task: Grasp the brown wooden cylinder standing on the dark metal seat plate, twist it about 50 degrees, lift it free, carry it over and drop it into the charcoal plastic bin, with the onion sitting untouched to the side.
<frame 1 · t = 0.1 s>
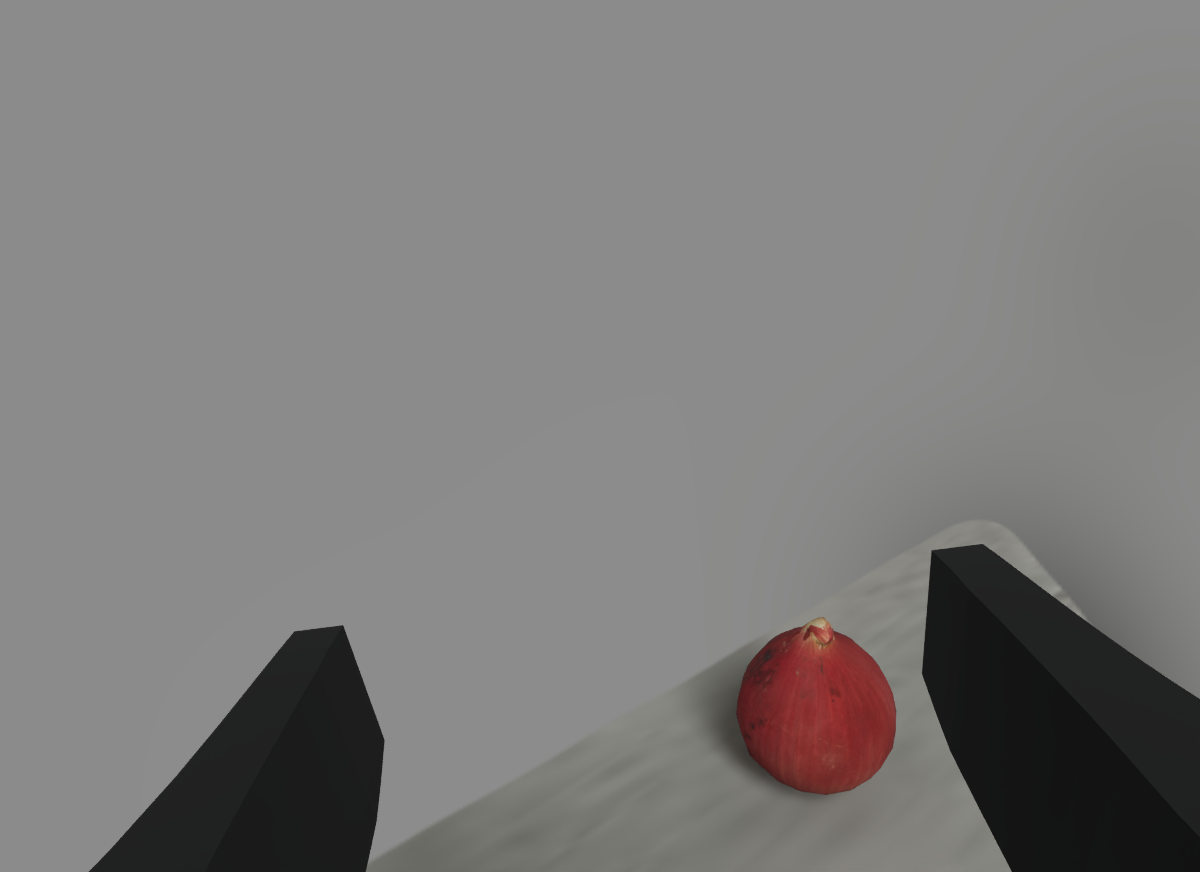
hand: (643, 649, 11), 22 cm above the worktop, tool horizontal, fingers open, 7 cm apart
onion: (816, 784, 36), on the worktop
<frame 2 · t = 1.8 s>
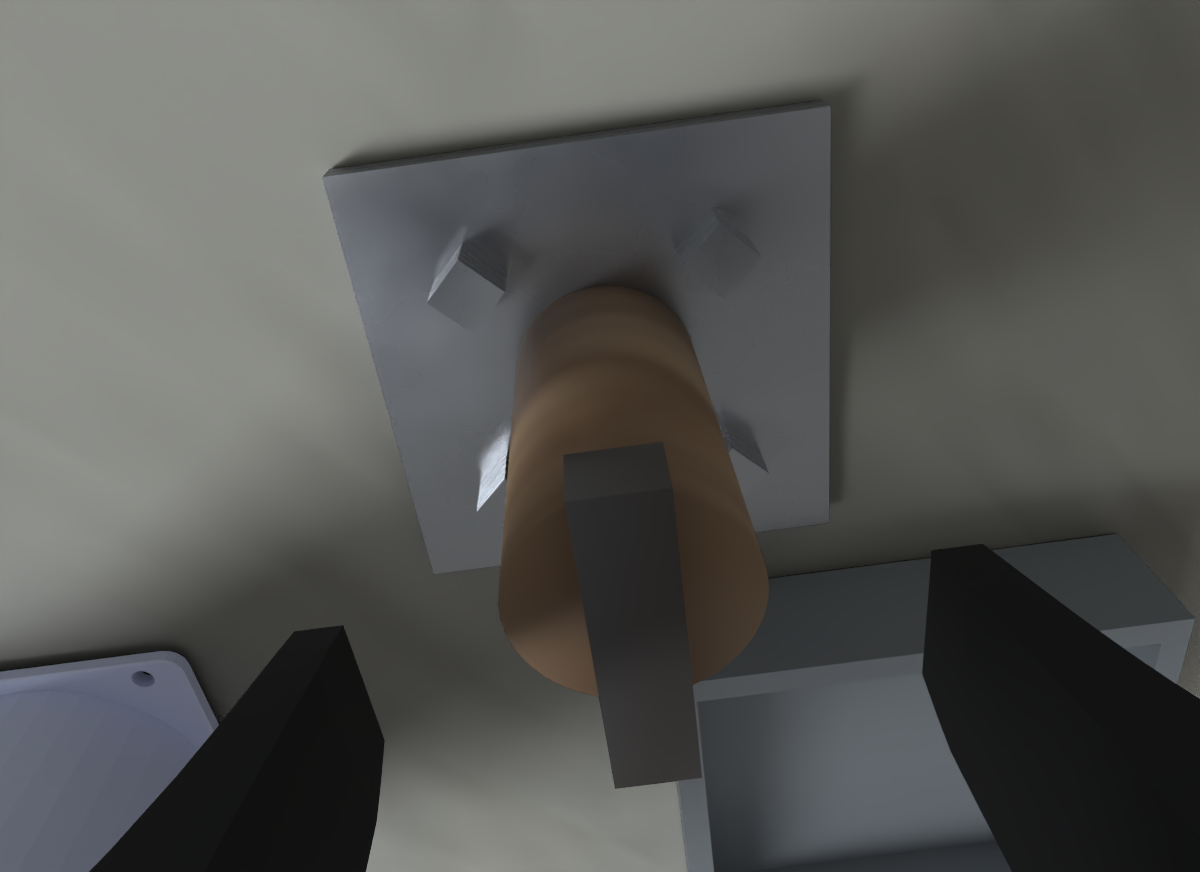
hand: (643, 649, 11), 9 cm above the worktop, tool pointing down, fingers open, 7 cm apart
seat plate: (604, 358, 18), on the worktop
brown wooden cylinder: (606, 370, 18), point 1 cm above the worktop, touching seat plate
bin: (876, 725, 24), on the worktop
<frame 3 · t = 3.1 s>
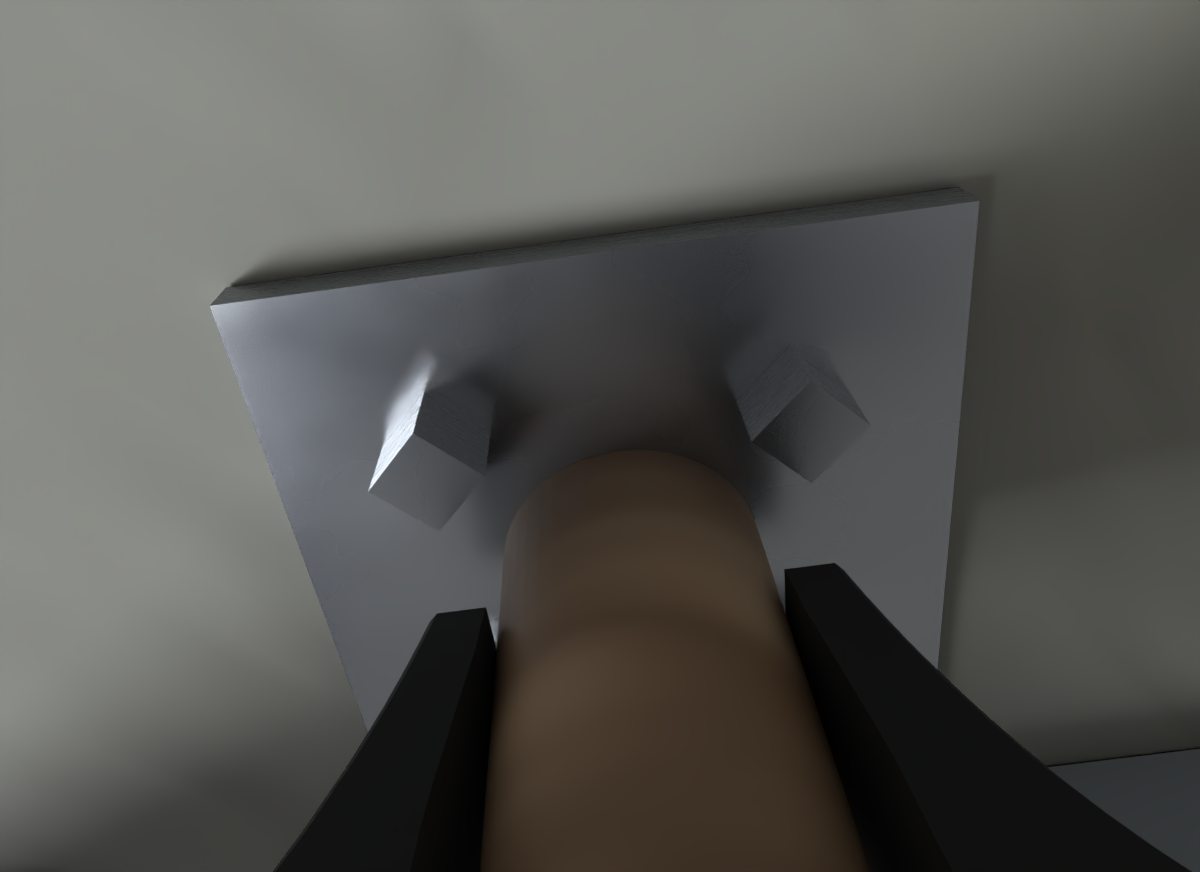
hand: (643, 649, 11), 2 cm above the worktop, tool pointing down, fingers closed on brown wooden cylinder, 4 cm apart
seat plate: (629, 533, 13), on the worktop
brown wooden cylinder: (632, 558, 13), point 1 cm above the worktop, touching gripper, seat plate
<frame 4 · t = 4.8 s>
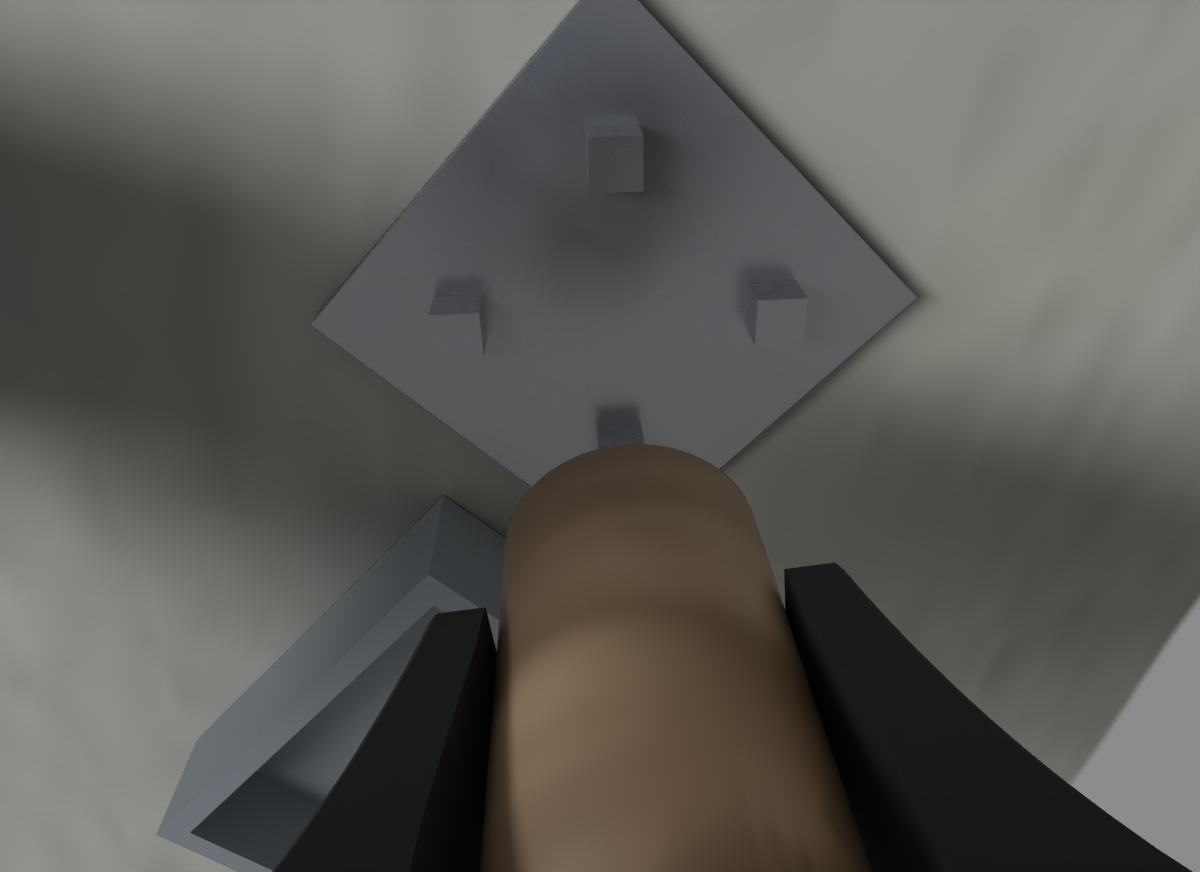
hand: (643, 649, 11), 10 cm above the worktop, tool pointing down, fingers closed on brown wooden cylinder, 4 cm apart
seat plate: (614, 300, 19), on the worktop
brown wooden cylinder: (631, 552, 13), point 8 cm above the worktop, touching gripper
bin: (476, 725, 26), on the worktop
when the fingers open (4 cm above the worktop, at t = 6.9 s): brown wooden cylinder drops 2 cm, resting on bin.
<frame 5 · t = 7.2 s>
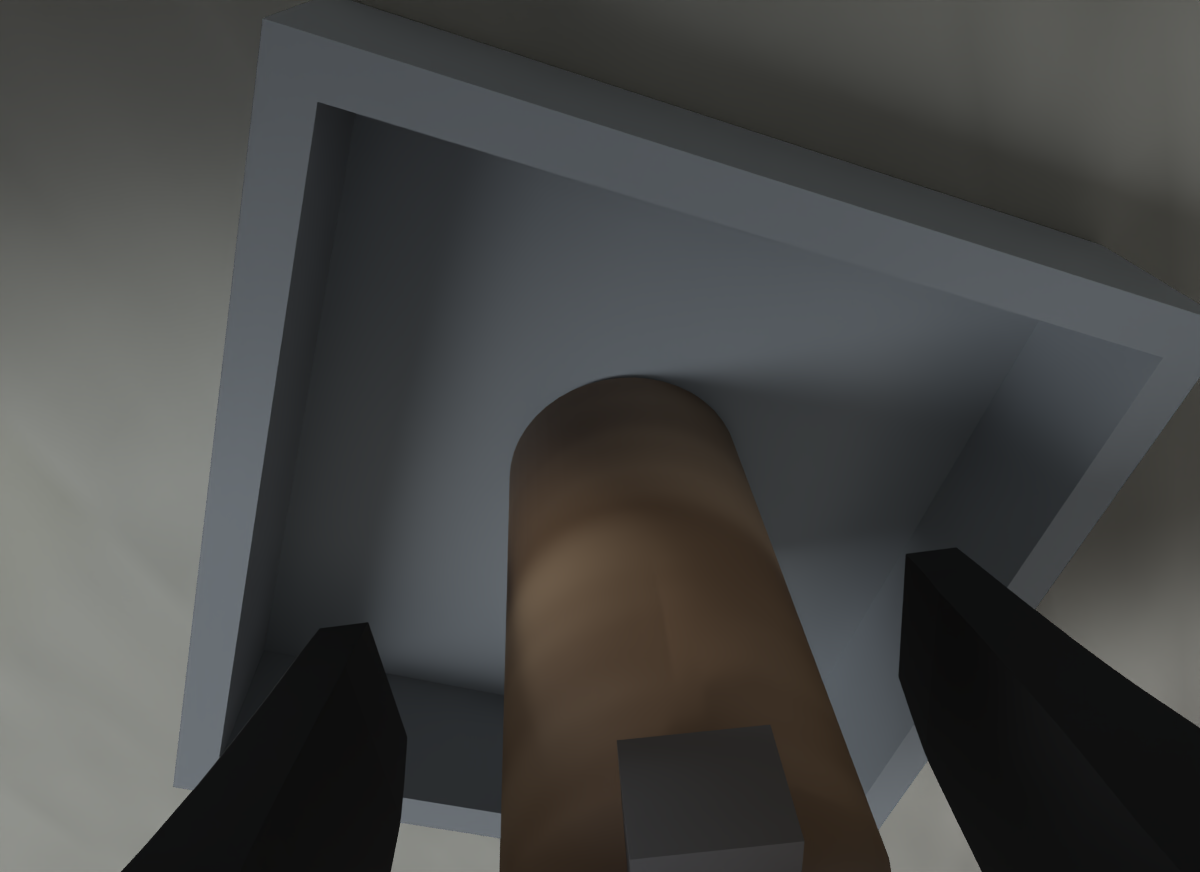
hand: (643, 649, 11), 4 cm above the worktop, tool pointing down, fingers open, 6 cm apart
brown wooden cylinder: (624, 478, 14), point 1 cm above the worktop, touching bin
bin: (621, 468, 15), on the worktop
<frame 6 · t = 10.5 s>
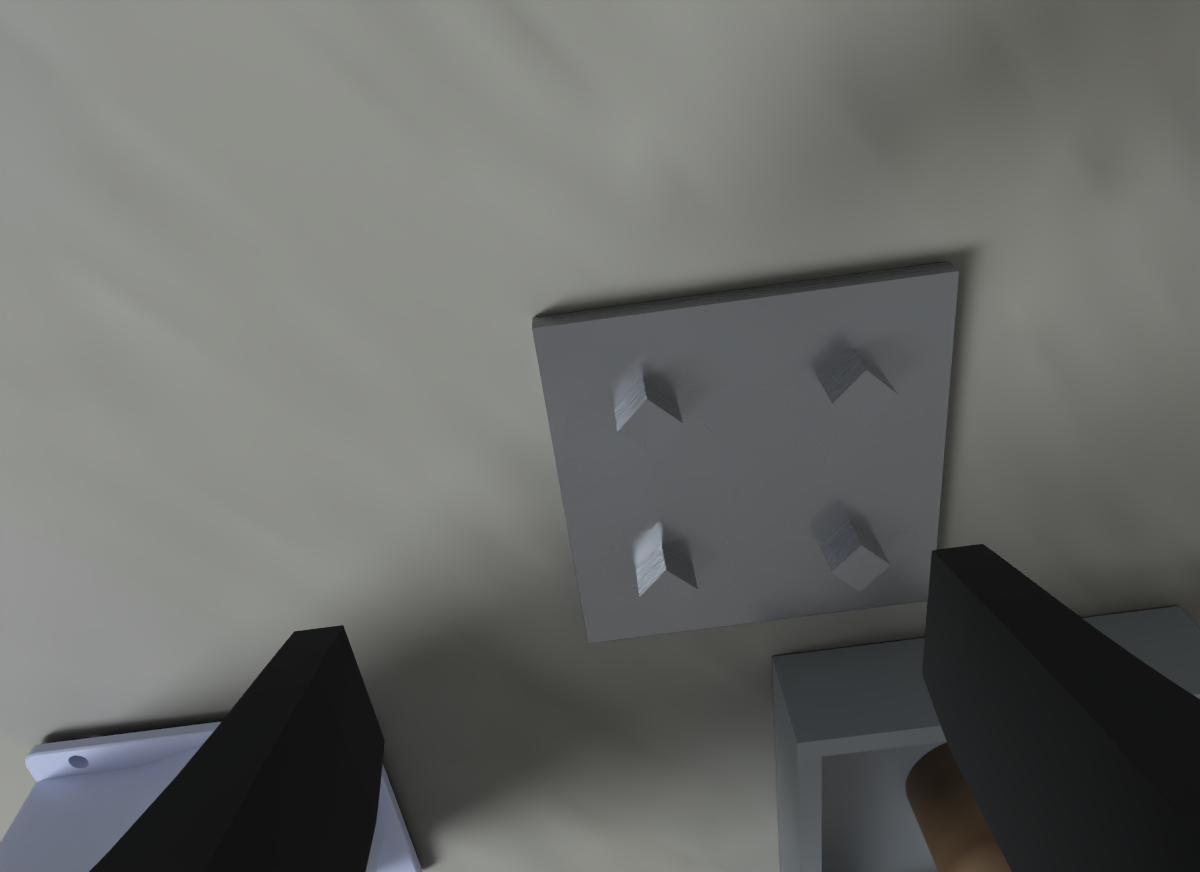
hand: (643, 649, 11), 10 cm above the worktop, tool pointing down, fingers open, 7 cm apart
seat plate: (747, 464, 22), on the worktop
brown wooden cylinder: (965, 779, 27), point 1 cm above the worktop, touching bin
bin: (958, 767, 27), on the worktop
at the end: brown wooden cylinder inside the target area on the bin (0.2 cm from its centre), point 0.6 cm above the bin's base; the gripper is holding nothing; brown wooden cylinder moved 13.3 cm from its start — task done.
